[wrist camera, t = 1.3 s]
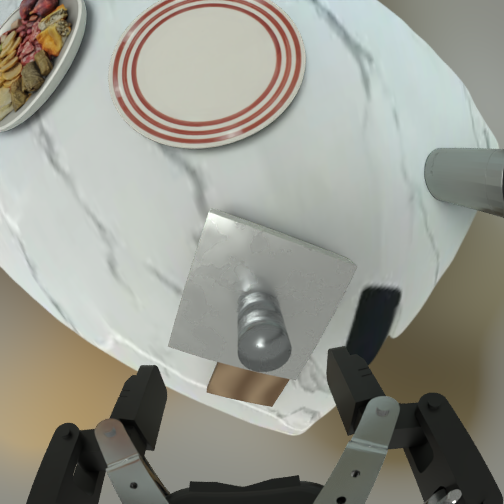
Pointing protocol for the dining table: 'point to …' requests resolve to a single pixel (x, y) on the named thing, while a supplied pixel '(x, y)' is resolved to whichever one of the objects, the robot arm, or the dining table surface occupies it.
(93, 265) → the dining table surface
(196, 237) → the dining table surface
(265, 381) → the walnut board
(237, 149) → the dining table surface
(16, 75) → the bowl
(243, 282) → the pan
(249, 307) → the cylinder
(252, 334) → the cylinder
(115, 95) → the dinner plate
